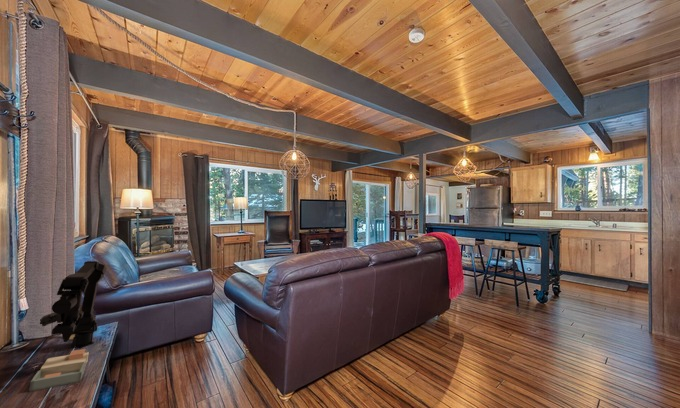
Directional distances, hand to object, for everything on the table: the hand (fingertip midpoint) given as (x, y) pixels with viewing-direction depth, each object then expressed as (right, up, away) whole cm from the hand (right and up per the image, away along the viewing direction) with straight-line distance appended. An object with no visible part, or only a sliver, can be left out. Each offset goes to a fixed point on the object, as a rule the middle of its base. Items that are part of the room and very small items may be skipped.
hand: (65, 341), depth 114 cm
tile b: (+5, -9, -10) cm, 14 cm away
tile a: (+3, -8, +2) cm, 9 cm away
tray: (+6, -12, -8) cm, 15 cm away
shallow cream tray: (+1, -12, -1) cm, 12 cm away
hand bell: (-22, -12, +27) cm, 37 cm away
